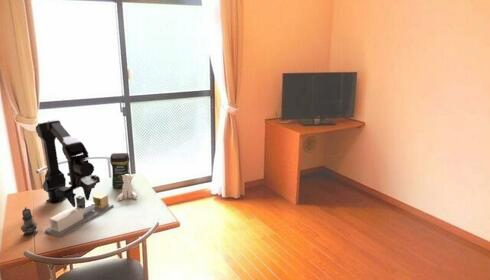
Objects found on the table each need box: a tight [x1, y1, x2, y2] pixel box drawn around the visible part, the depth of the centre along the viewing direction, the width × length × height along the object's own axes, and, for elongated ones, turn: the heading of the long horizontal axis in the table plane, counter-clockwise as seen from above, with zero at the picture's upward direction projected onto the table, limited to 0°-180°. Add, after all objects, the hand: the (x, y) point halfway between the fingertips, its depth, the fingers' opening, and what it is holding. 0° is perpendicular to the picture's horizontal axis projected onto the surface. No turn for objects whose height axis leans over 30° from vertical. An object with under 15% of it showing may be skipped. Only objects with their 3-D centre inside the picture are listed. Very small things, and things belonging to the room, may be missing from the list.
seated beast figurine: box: [116, 173, 138, 201], centre depth 175 cm, size 10×9×12 cm
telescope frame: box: [44, 192, 114, 238], centre depth 154 cm, size 9×29×6 cm, turn 156°
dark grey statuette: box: [20, 206, 39, 238], centre depth 141 cm, size 6×6×12 cm
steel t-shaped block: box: [75, 195, 95, 215], centre depth 151 cm, size 3×17×8 cm, turn 156°
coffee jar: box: [109, 152, 131, 189], centre depth 186 cm, size 10×8×19 cm
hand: (81, 203), depth 154 cm, fingers open, 7 cm apart
